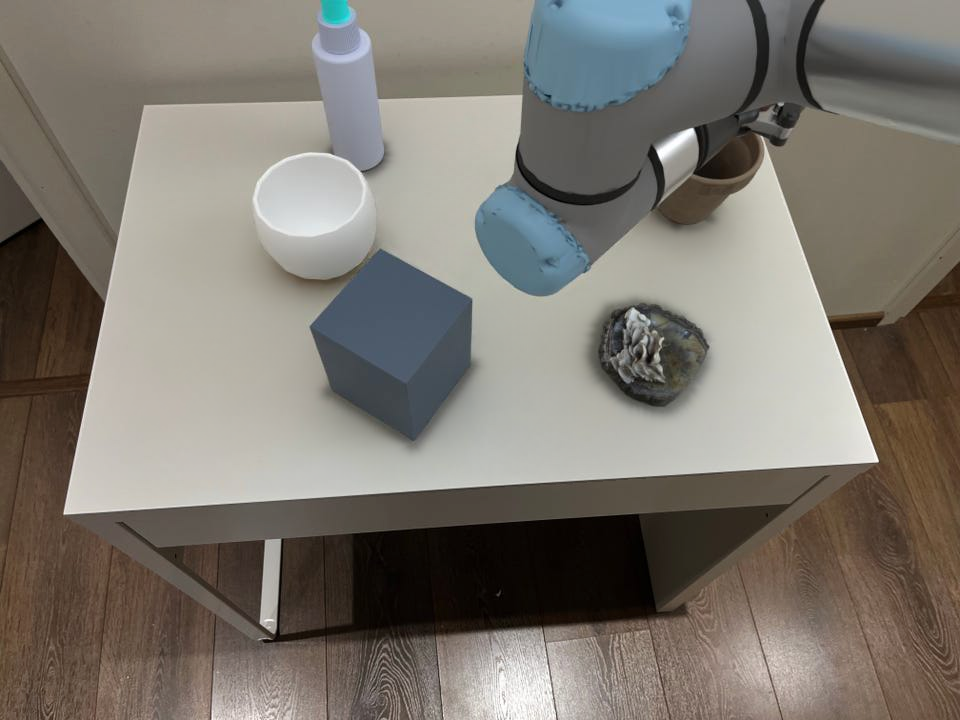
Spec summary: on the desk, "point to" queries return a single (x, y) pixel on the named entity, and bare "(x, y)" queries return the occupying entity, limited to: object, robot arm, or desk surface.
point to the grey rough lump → (651, 352)
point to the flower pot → (715, 180)
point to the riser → (395, 342)
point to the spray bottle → (348, 85)
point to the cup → (315, 215)
